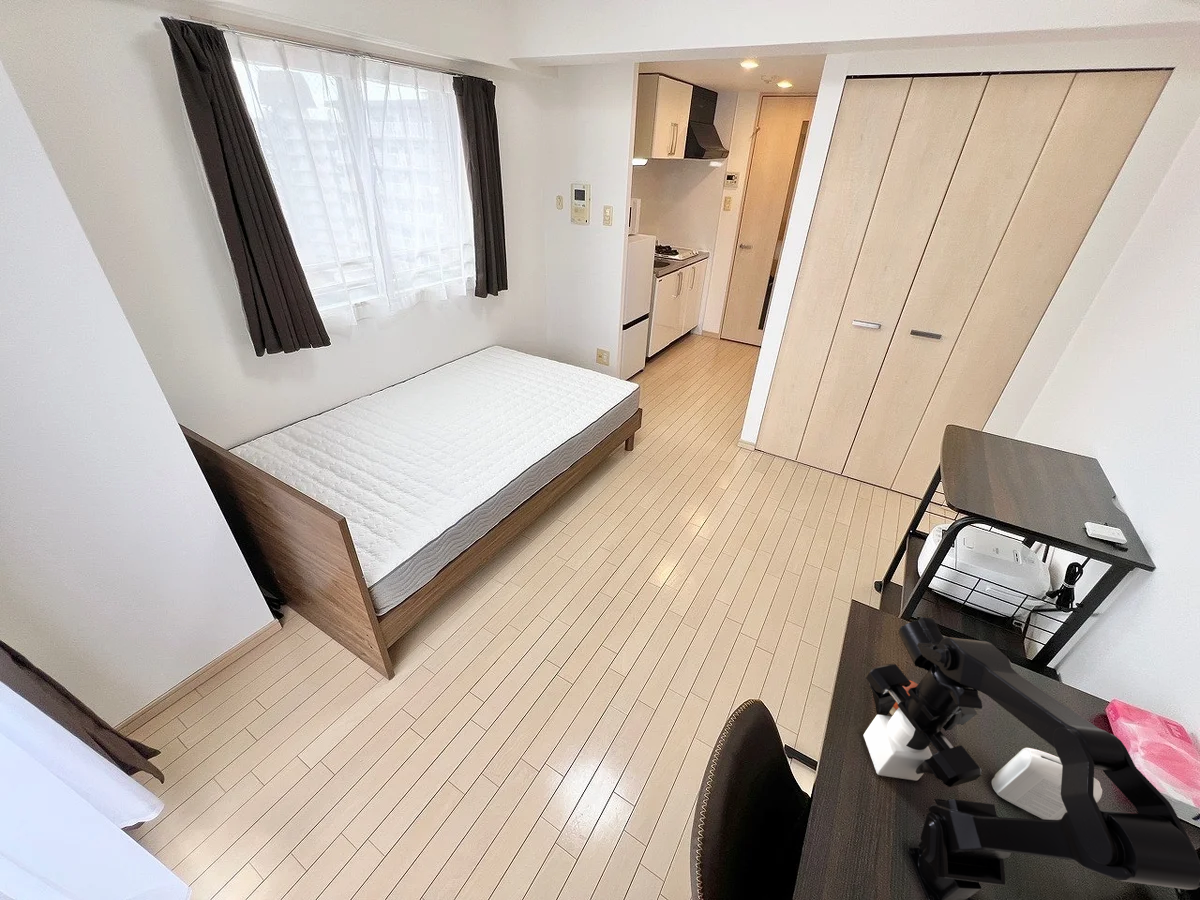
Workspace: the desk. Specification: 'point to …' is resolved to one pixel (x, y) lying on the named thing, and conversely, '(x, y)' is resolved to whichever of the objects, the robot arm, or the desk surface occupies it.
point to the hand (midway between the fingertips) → (898, 744)
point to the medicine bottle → (896, 746)
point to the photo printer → (1035, 784)
